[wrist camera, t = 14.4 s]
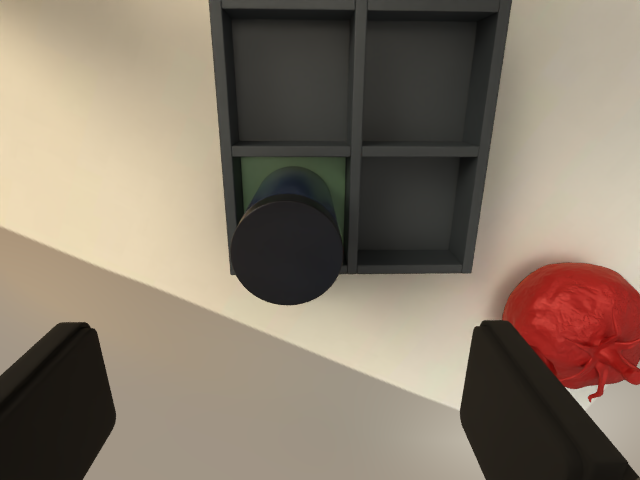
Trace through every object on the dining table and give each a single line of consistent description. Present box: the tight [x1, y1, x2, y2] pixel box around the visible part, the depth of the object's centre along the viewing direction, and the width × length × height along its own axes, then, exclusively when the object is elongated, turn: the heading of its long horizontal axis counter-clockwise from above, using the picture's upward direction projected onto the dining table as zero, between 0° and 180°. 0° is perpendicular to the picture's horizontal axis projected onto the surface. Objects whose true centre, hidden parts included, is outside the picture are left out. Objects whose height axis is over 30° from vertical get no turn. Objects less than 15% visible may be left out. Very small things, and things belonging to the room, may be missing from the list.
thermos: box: [230, 166, 343, 305], centre depth 24 cm, size 6×6×10 cm
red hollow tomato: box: [502, 262, 640, 402], centre depth 29 cm, size 10×10×9 cm
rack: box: [209, 0, 512, 275], centre depth 27 cm, size 17×17×4 cm
